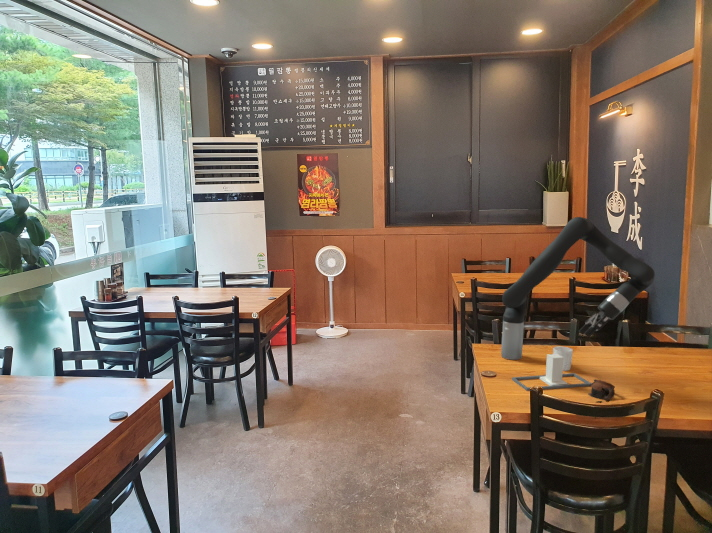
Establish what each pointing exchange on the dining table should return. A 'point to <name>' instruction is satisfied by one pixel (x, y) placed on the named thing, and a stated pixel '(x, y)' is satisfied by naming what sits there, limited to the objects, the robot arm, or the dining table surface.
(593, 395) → the dark brown lump
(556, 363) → the slider post
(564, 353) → the white cup
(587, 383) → the grey rectangular frame
